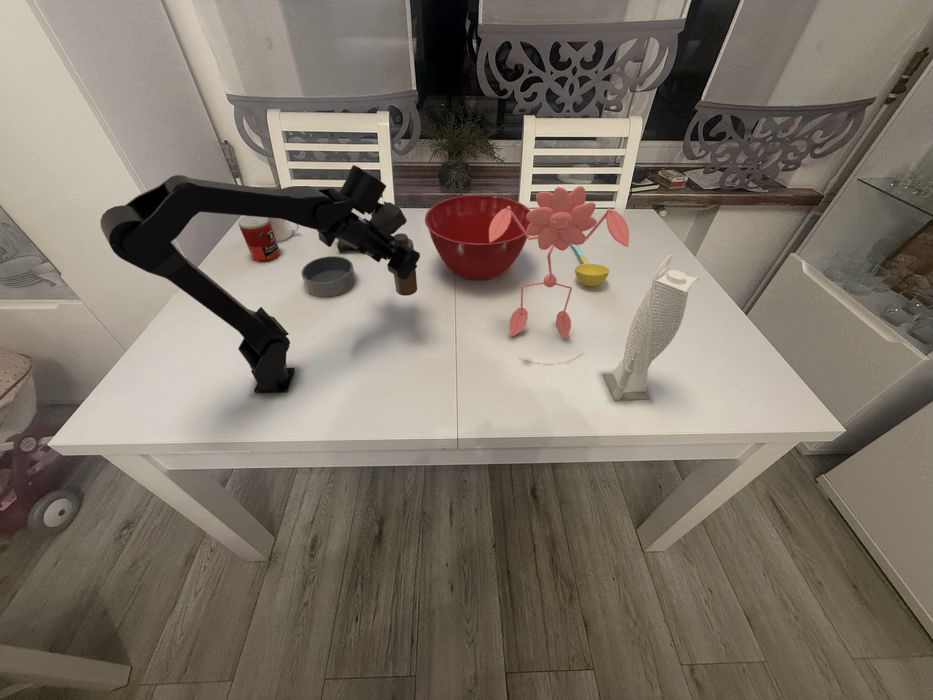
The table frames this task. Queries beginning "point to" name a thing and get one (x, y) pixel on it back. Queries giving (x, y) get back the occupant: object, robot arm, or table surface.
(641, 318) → the skyscraper
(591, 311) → the table surface
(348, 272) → the tin
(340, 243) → the door handle
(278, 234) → the mug
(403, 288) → the pepper mill
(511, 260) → the mixing bowl
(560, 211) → the figurine
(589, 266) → the ladle
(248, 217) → the canned food
